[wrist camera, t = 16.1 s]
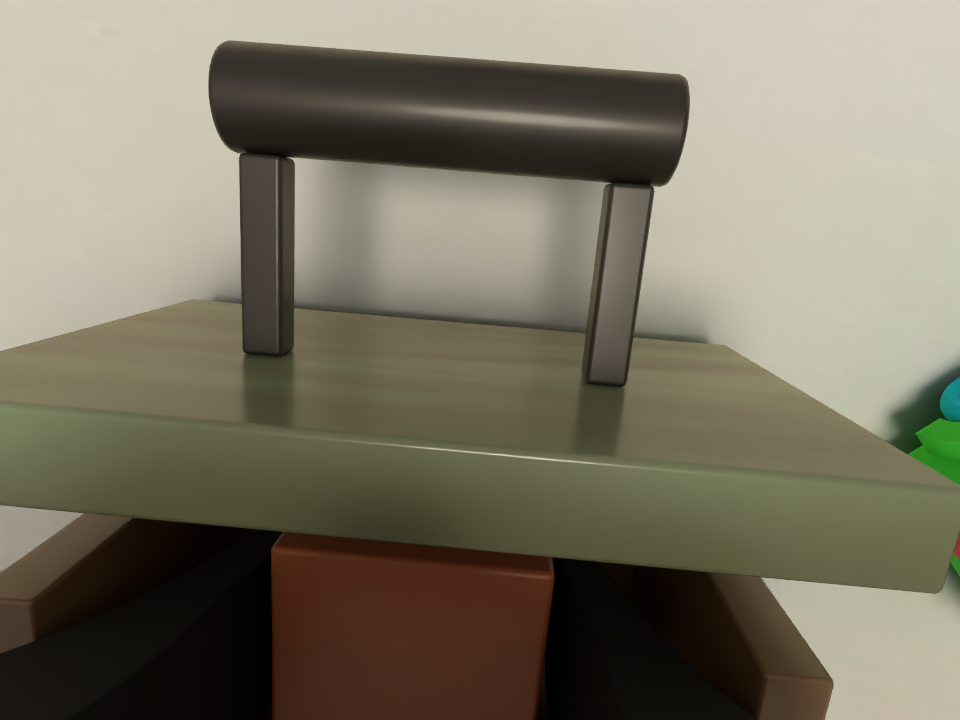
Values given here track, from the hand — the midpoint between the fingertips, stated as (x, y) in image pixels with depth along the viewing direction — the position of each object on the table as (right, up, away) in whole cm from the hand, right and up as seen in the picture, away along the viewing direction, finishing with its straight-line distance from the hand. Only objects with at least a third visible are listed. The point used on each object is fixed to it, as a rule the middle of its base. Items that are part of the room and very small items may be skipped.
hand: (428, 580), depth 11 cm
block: (0, 0, +1) cm, 1 cm away
